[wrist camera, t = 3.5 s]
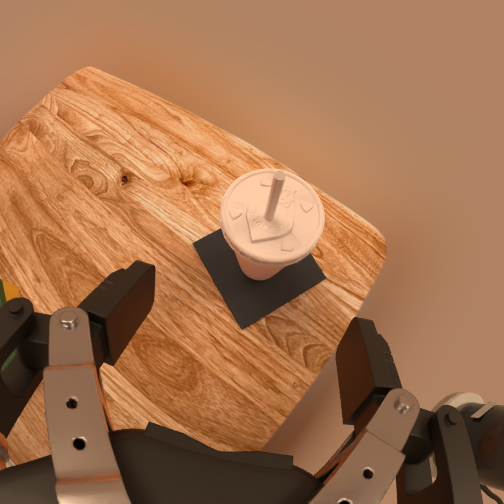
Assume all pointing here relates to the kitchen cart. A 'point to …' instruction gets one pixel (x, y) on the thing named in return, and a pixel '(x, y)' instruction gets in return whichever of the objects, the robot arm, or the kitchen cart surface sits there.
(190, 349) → the kitchen cart surface
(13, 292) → the scrubber
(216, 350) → the kitchen cart surface
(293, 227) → the smoothie
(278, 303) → the cloth
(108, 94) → the kitchen cart surface
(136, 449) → the robot arm
